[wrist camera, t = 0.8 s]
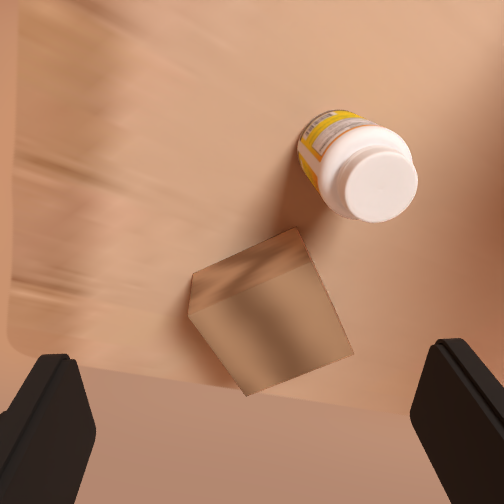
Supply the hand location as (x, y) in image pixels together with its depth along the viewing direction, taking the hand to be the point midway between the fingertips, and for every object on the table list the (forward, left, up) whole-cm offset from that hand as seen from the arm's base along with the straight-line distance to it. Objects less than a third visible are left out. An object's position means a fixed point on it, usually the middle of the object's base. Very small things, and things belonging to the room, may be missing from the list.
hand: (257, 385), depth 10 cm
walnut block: (+3, +12, -21) cm, 25 cm away
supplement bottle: (-7, +2, -22) cm, 23 cm away
